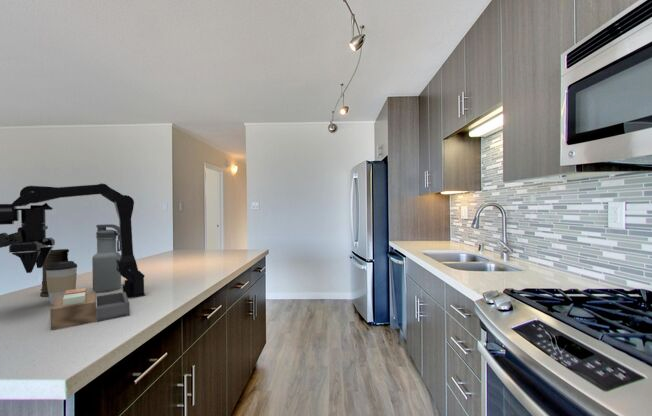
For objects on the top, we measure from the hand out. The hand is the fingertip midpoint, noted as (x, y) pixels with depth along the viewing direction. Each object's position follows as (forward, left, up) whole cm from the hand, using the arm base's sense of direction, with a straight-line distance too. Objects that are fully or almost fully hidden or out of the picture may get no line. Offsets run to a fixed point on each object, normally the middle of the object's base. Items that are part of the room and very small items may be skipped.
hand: (34, 270), depth 97 cm
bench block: (-11, +16, -14) cm, 24 cm away
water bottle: (-20, -20, -15) cm, 32 cm away
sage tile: (-11, +19, -8) cm, 24 cm away
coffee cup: (-6, -11, -15) cm, 19 cm away
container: (-3, -26, -15) cm, 30 cm away
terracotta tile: (-11, +12, -8) cm, 18 cm away
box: (-20, +16, -14) cm, 29 cm away
